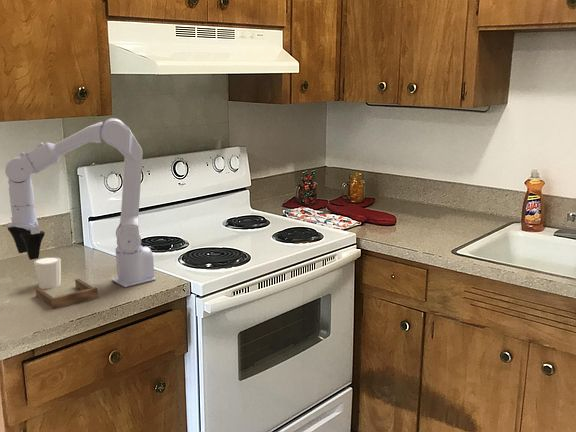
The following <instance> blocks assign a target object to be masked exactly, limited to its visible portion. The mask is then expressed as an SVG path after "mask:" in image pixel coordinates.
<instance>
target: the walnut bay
mask: <svg viewBox="0 0 576 432" xmlns="http://www.w3.org/2000/svg"><path fill="white" fill-rule="evenodd" d="M74 282H75V287H76V288H78V289H79V290H78V291H74V292H71V293H67V294H62V295H59V296H55V297H53V296H52V295H50V294H49V293H48V292H46V291H44V289H43V288H39V287H36V288H35V297H37V298H38V299H39V300H40V301H42V302H43V303H45V304H46V305H48V306H49V307H50V308H52V309H53V310H54V308H55V309H58V308H62V307H66V306H70V305H74V304H79V303H81V302H85V301H89V300H93V299H94V300H95V299H97V298H99V292H98V291H99V290H98V287H96V286H95V287H93V286H92V285H90V284H88V283H87V282H85V281H84V280H81V279H80V278H76V279H75V280H74Z"/></svg>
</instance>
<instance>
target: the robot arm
mask: <svg viewBox="0 0 576 432" xmlns="http://www.w3.org/2000/svg"><path fill="white" fill-rule="evenodd" d="M102 140H103V141H104V142H105V143H106V144H107V145H109V146H111V147H112V148H115V149H117V151H118V152H119V153H120V154H121V155H122V156H123V157H124V158H123V159H124V161H123V162H124V164H123V175H122V176H123V178H122V193H121V206H120V207H121V208H120V209H121V210H120V219H119V225H118V226H117V228H116V231H115V237H116V248H114V249H115V260H116V272H117V273H116V274H117V277H113V278H111V280H112V281H113V282H115V283H116V284H118V285H120V286H122V287H123V288H127V287H132V286H136V285H140V284H143V283H147V282H151V281H155V280H156V277H155V264H154V254H153V252H152V250H151V248H150V247H148V246H143V245H142V237H141V235H140V230H139V229H140V228H139V227H140V226H139V213H140V212H139V210H140V201H141V200H140V197H141V185H142V184H141V183H142V168H143V154H144V152H143V148H142V147H141V145H140V144H139V142H138V141H137V139H136V136H135V135H134V134H133V132H132V131H131V129H130V127H129V126H127V124H125V122H123V121H122V120H121V119H119V118H117V117H115V118H114V117H110V118H108V119H106V120H105V121H100V122H97V123H94V124H92V125H89V126H86V127H85V128H83V129H80V130H79V131H77V132H75V133H73V134H71V135H70V136H68V137H65V138H64V139H61V140H60V141H59V142H56V143H51V142H48V141H47V142H45V143H43V142H41V141H40V142H39V143H37V144H36V147H35V148H33V149H31V150H29V151H27V152H24V151H22V152H20V153H19V156H15V157H13V158H11V159H10V160H9V162H8V163H7V164H6V166H5V169H4V170H5V171H4V172H5V175H6V177H7V178H8V180H7V183H8V186H9V187H8V193H9V202H10V210H11V217H10V220H11V222H8V223H7V226H8V227H7V230H8V232H9V233H10V235H11V237H12V238H13V241H14V243H15V246H16V249H17V252H18V254H23V253H27V257H28V259H29V260H30V261H31V260H38V259H40V258H39V256H40V250H41V244H42V242H43V239H44V236H45V234H46V233H45V231H43V230H40V229H41V228H40V225H39V223H38V222H39V221H38V218H37V211H36V209H37V208H36V201H35V194H34V193H35V191H34V185H33V182H32V175H31V174H38V173H40V172H43V171H44V170H46V169H48V168H50V167H52V166H54V165H56V164H59V163H60V161H61V157H62V155H65V154H66V153H69V152H71V151H73V150H76V149H79V147H82V146H84V145H86V144H89V143H96V144H102Z"/></svg>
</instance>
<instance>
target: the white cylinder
mask: <svg viewBox="0 0 576 432" xmlns="http://www.w3.org/2000/svg"><path fill="white" fill-rule="evenodd" d="M61 262H62V259H61V258H60V257H55V256H48V257H42V258H37V259H34V261H33V265H34V271H35V274H36V275H35V276H36V281H37V284H38V288H40V289H42V290H45V289H46V290H47V289H54V288H58V287H60V286H61V284H62V282H61V281H62V280H61V279H62V277H61V276H62V267H61V266H62V263H61Z"/></svg>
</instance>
